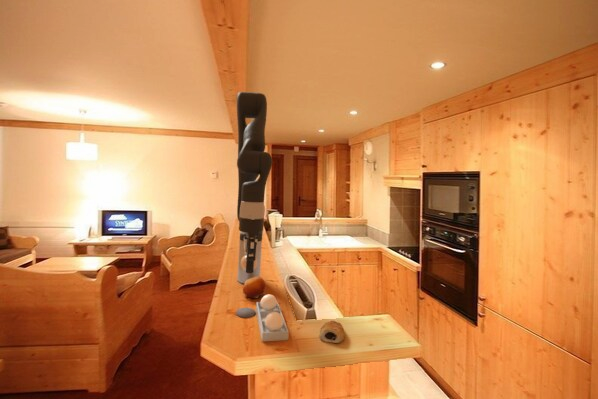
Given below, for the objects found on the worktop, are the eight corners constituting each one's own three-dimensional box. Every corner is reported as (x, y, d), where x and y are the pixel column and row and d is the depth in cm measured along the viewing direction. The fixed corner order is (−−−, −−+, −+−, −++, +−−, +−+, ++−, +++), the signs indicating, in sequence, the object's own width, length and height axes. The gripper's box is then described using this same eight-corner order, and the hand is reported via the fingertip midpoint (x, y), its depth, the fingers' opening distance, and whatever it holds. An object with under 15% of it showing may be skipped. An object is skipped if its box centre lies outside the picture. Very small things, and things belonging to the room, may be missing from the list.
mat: (235, 309, 93) (235, 308, 93) (254, 308, 95) (254, 307, 95) (236, 317, 88) (236, 316, 87) (255, 317, 89) (255, 315, 89)
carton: (256, 309, 94) (256, 302, 94) (277, 308, 96) (277, 301, 96) (261, 341, 76) (262, 332, 76) (288, 339, 77) (288, 331, 77)
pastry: (324, 325, 87) (325, 313, 87) (346, 330, 85) (347, 317, 85) (317, 341, 78) (319, 327, 78) (342, 346, 76) (344, 332, 76)
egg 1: (259, 307, 94) (260, 291, 94) (275, 307, 95) (276, 291, 95) (260, 314, 89) (261, 298, 89) (277, 314, 90) (278, 298, 90)
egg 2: (263, 326, 82) (264, 309, 81) (281, 326, 83) (282, 308, 83) (265, 336, 77) (266, 317, 76) (284, 335, 78) (285, 316, 78)
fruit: (263, 298, 100) (254, 277, 101) (245, 306, 102) (236, 285, 103) (273, 290, 107) (264, 271, 108) (256, 298, 110) (247, 278, 111)
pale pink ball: (239, 268, 92) (240, 252, 92) (256, 268, 94) (257, 252, 93) (240, 273, 87) (241, 256, 87) (257, 273, 89) (258, 256, 88)
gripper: (238, 212, 95) (235, 263, 96) (240, 219, 81) (237, 277, 83) (261, 213, 97) (258, 262, 98) (266, 219, 83) (263, 277, 84)
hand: (248, 269), depth 90 cm, fingers closed on pale pink ball, 5 cm apart
